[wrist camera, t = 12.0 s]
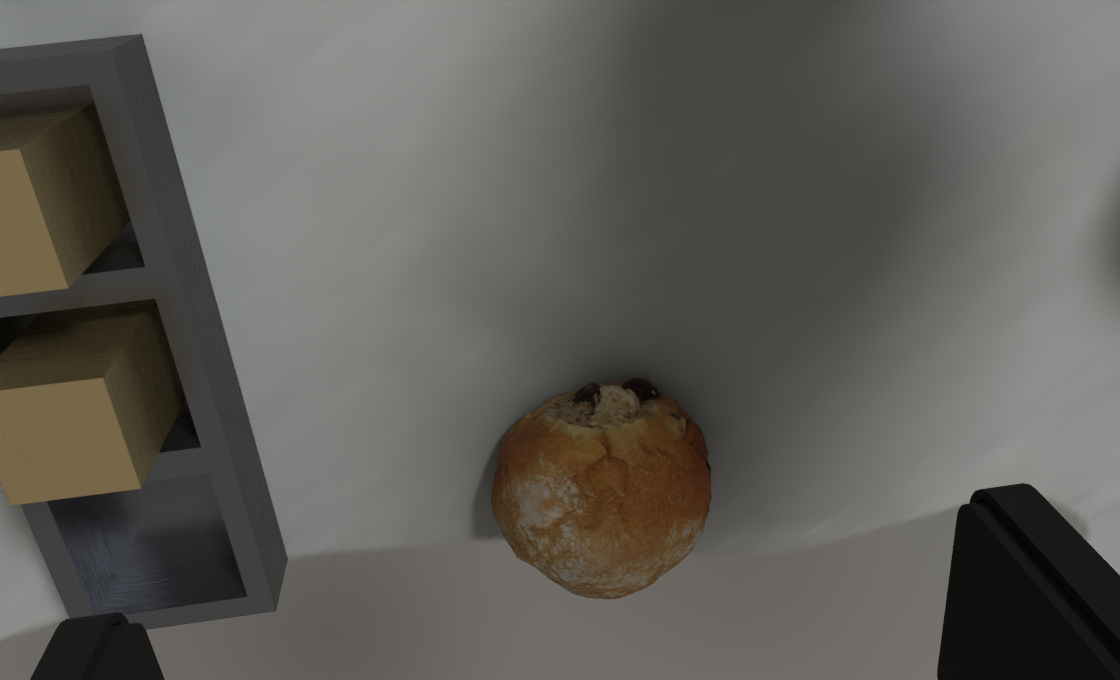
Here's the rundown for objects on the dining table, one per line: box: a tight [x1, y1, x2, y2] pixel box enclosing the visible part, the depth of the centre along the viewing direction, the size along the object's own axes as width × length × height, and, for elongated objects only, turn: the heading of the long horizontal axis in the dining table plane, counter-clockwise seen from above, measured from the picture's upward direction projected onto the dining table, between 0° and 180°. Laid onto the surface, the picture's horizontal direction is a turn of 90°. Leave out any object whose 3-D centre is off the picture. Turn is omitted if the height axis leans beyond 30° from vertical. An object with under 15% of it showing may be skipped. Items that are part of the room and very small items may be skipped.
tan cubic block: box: [0, 299, 186, 506], centre depth 35 cm, size 4×4×7 cm
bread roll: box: [491, 378, 711, 599], centre depth 42 cm, size 10×10×8 cm
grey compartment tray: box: [0, 34, 288, 630], centre depth 37 cm, size 24×8×4 cm, turn 5°
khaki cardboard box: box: [0, 100, 131, 297], centre depth 32 cm, size 4×4×7 cm
